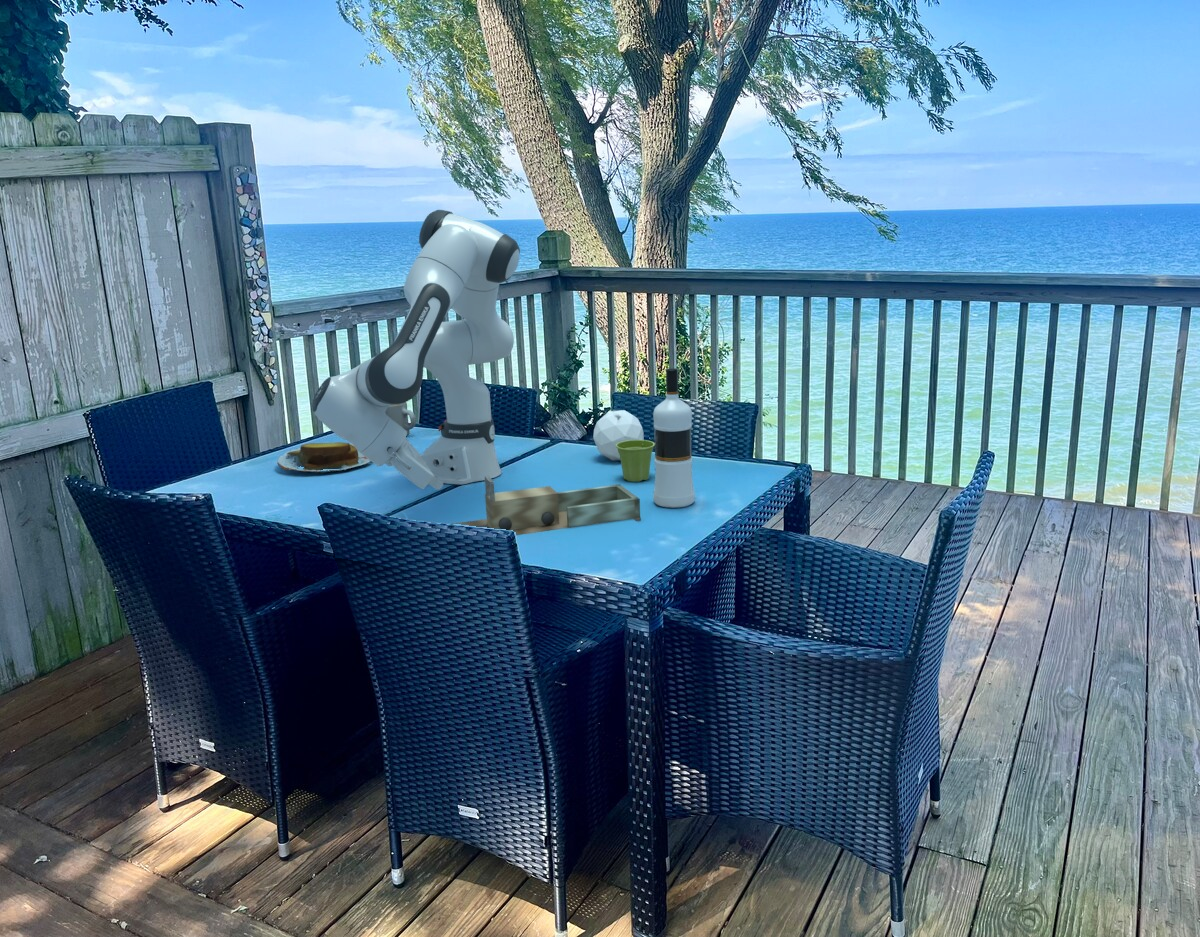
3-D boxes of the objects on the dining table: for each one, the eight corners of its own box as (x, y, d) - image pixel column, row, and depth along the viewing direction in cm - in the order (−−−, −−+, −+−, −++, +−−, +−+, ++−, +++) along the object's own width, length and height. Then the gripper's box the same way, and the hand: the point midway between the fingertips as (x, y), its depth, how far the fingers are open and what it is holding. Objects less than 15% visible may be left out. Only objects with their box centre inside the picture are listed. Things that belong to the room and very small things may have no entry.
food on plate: (368, 449, 269) (366, 427, 267) (384, 469, 246) (382, 445, 244) (274, 460, 259) (271, 437, 257) (281, 482, 236) (278, 457, 235)
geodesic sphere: (655, 444, 236) (644, 396, 241) (603, 449, 233) (593, 400, 238) (643, 466, 249) (633, 420, 254) (593, 471, 246) (584, 425, 251)
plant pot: (652, 484, 221) (651, 449, 218) (613, 483, 223) (612, 448, 220) (658, 474, 230) (657, 440, 227) (620, 473, 231) (619, 439, 229)
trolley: (494, 533, 188) (490, 483, 185) (486, 522, 195) (482, 474, 192) (560, 524, 192) (557, 475, 189) (550, 514, 199) (548, 466, 196)
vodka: (675, 511, 199) (673, 373, 192) (644, 503, 206) (641, 369, 198) (703, 501, 205) (702, 367, 198) (672, 494, 212) (670, 363, 204)
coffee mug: (369, 437, 283) (366, 405, 281) (394, 431, 291) (391, 399, 289) (399, 441, 276) (396, 408, 273) (424, 435, 284) (421, 403, 281)
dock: (462, 545, 183) (460, 523, 182) (451, 526, 195) (449, 505, 194) (640, 520, 194) (640, 499, 193) (619, 503, 206) (619, 483, 205)
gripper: (402, 441, 171) (459, 486, 176) (390, 421, 190) (442, 462, 195) (380, 468, 171) (437, 511, 176) (370, 445, 189) (423, 485, 195)
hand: (440, 485), depth 186 cm, fingers closed
